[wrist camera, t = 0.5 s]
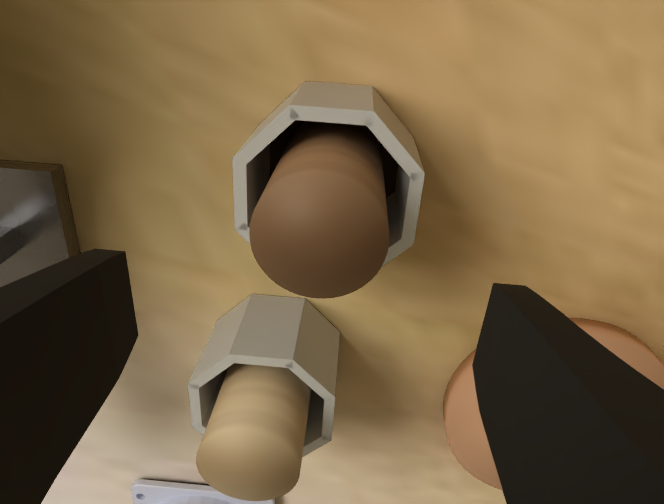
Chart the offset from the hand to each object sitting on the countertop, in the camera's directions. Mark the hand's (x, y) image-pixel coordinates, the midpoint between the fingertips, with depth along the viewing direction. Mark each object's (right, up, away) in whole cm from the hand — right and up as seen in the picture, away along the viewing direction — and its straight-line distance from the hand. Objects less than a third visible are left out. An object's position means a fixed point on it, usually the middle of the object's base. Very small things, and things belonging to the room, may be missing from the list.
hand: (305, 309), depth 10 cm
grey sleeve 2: (-2, -3, +13) cm, 13 cm away
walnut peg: (+1, +5, +8) cm, 10 cm away
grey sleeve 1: (+1, +5, +8) cm, 10 cm away
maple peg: (-2, -3, +13) cm, 13 cm away
